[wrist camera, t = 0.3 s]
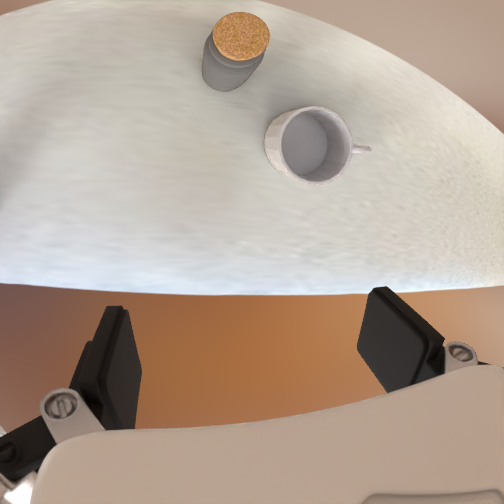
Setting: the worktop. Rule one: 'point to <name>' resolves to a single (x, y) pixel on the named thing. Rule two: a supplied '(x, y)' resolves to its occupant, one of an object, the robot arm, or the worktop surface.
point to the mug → (310, 145)
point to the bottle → (234, 50)
